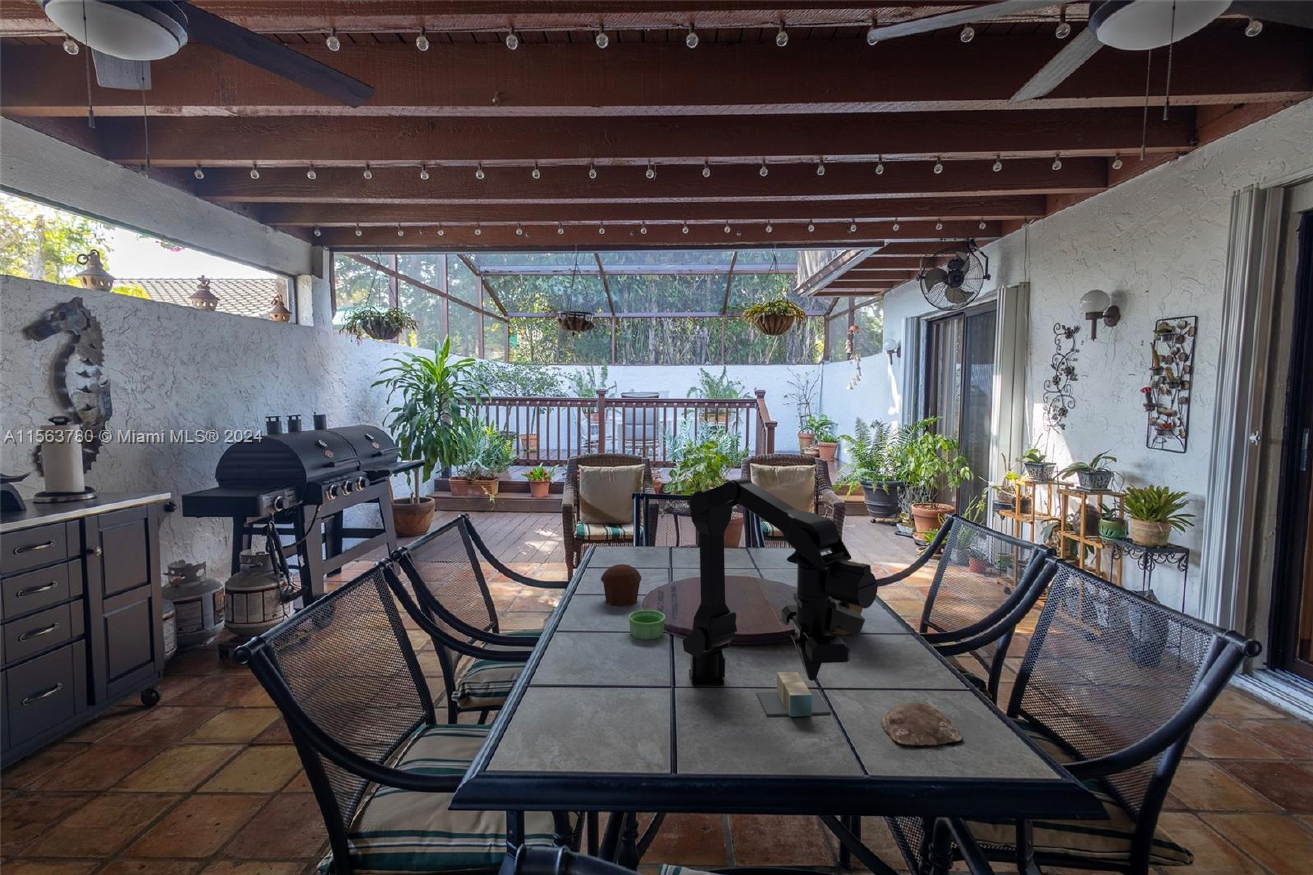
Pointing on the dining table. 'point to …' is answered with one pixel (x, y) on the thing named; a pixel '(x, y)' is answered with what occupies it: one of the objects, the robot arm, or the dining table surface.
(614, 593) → the muffin
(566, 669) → the dining table surface
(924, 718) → the shell
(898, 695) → the dining table surface
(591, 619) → the dining table surface
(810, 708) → the oak block
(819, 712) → the mat
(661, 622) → the ramekin
